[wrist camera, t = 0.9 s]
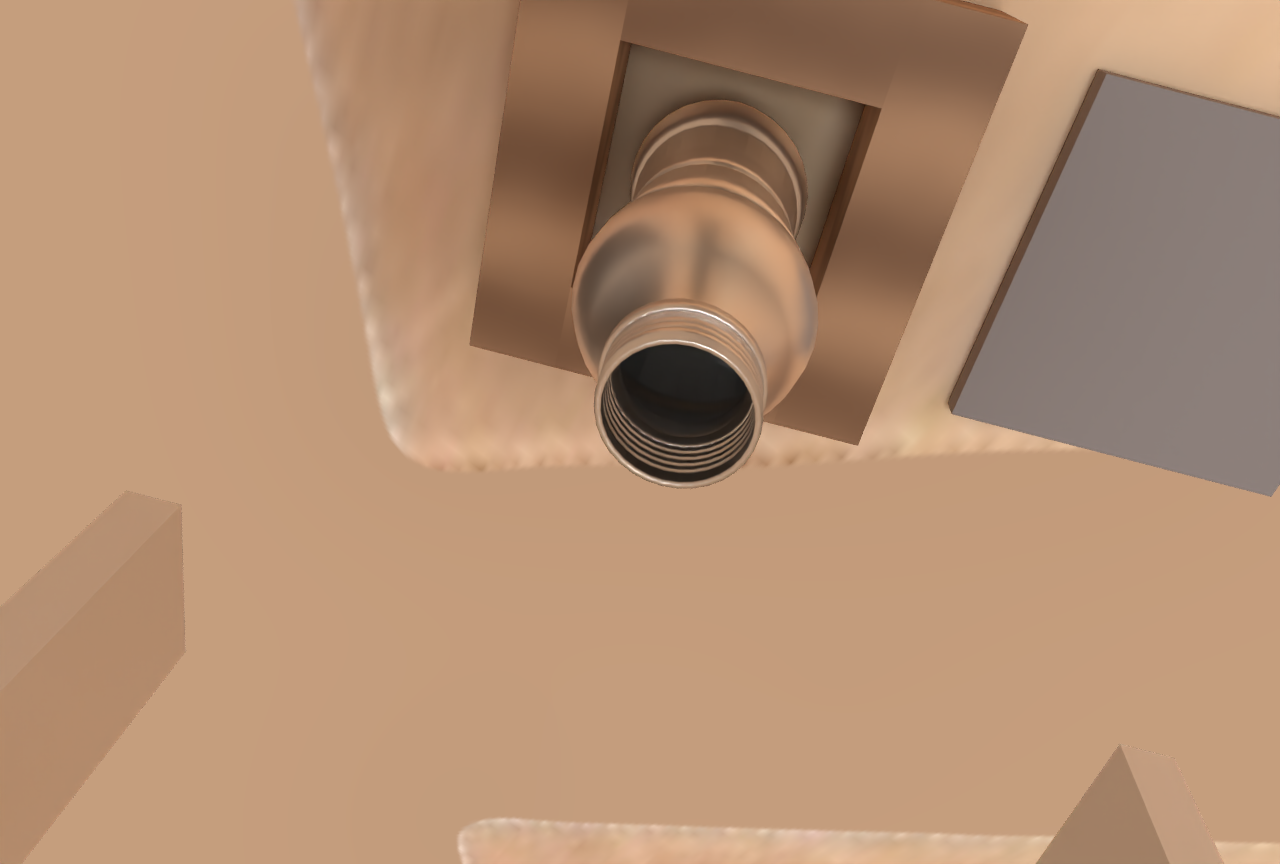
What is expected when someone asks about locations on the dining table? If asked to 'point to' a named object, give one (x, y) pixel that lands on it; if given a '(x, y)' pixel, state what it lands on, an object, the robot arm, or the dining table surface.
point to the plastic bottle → (698, 295)
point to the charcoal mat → (1146, 292)
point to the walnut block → (778, 50)
